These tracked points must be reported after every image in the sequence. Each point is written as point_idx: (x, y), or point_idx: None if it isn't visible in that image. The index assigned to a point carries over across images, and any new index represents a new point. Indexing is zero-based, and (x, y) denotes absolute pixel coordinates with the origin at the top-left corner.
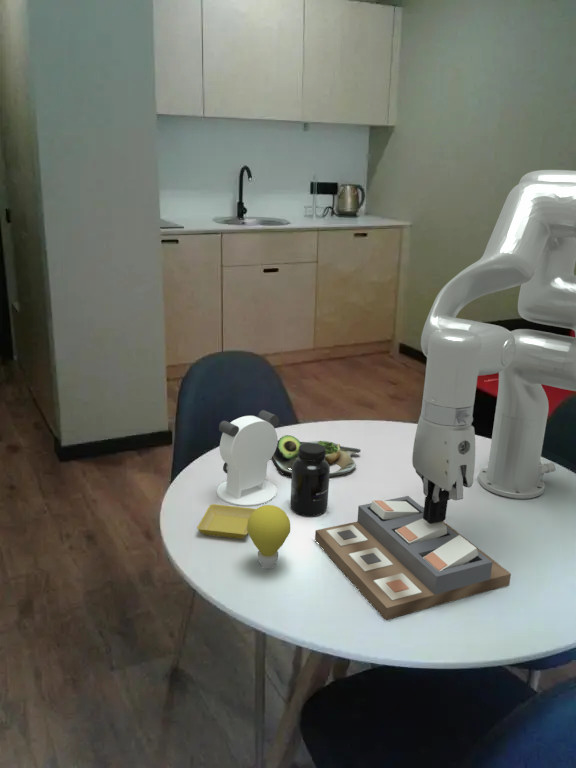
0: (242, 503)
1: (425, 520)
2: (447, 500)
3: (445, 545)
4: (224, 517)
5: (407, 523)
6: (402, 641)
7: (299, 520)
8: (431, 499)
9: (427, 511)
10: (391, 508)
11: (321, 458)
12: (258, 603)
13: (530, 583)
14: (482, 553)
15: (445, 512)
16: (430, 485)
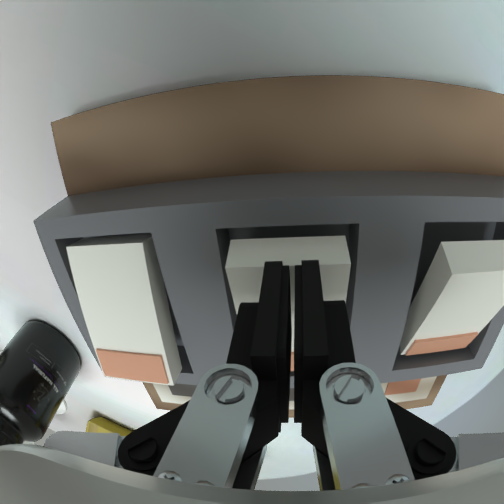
0: (62, 406)
1: (254, 300)
2: (327, 342)
3: (434, 316)
4: (100, 431)
5: (220, 324)
6: (469, 379)
7: (94, 376)
8: (287, 412)
9: (290, 368)
10: (147, 356)
11: (5, 436)
12: (302, 464)
13: (499, 34)
14: (402, 87)
15: (321, 288)
16: (251, 481)
